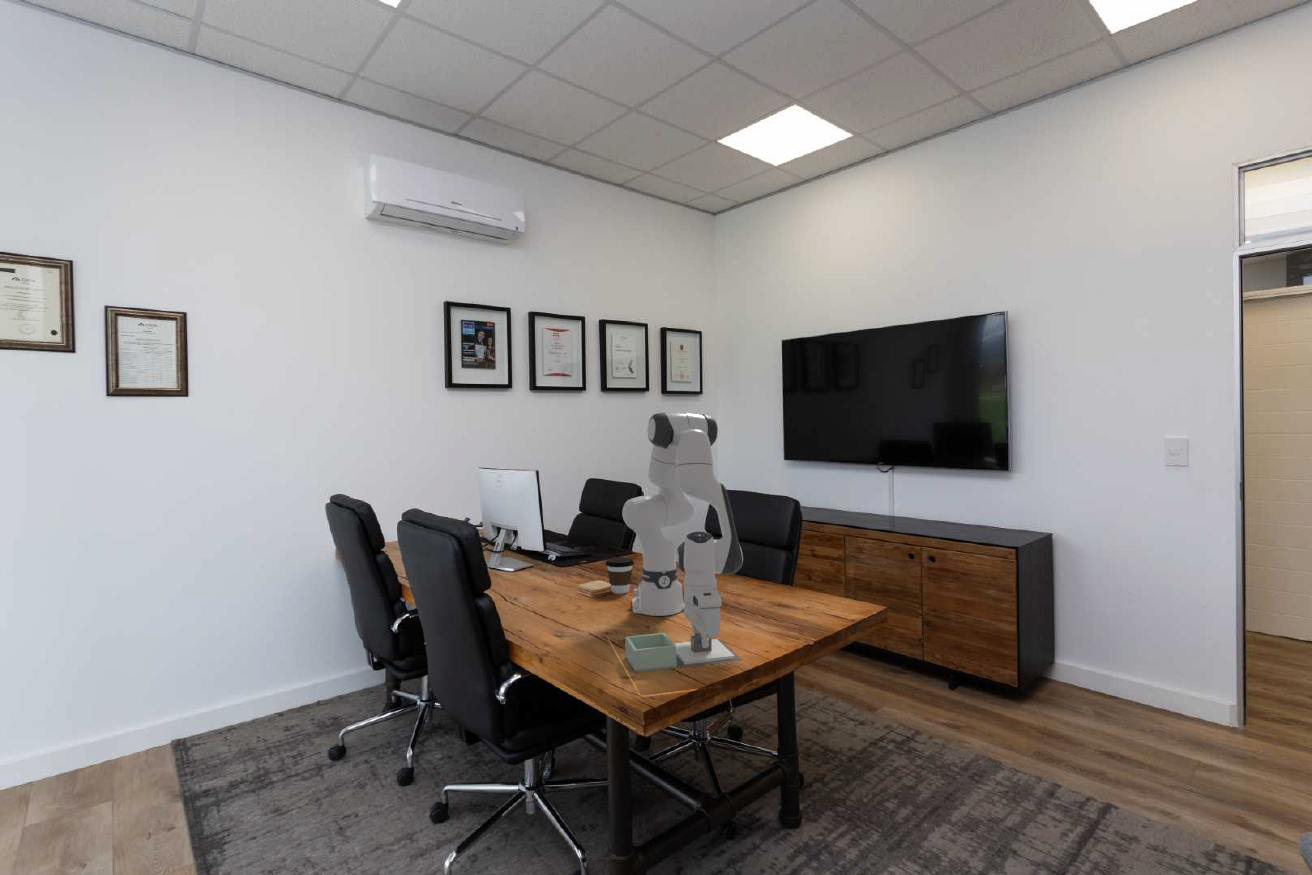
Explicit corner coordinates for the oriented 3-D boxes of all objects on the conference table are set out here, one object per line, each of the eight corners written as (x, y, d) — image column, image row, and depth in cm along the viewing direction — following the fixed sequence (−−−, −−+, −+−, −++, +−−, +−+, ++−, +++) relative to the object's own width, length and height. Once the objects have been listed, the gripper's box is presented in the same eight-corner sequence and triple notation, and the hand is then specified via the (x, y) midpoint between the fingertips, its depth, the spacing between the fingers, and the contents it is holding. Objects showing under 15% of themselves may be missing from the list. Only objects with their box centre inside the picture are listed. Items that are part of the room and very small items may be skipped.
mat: (662, 646, 183) (662, 645, 183) (719, 640, 187) (719, 639, 187) (680, 668, 167) (680, 667, 167) (742, 661, 171) (742, 660, 171)
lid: (669, 646, 182) (669, 631, 182) (716, 641, 186) (716, 626, 185) (684, 664, 168) (683, 648, 168) (734, 658, 172) (734, 642, 172)
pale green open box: (625, 658, 174) (625, 636, 174) (665, 654, 177) (664, 632, 177) (634, 674, 164) (634, 650, 163) (676, 669, 166) (676, 646, 166)
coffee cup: (604, 588, 248) (603, 557, 248) (632, 587, 250) (632, 556, 250) (607, 596, 237) (606, 563, 237) (637, 594, 239) (636, 562, 239)
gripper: (678, 584, 186) (679, 632, 186) (701, 603, 166) (701, 657, 166) (699, 582, 187) (699, 630, 188) (724, 601, 168) (725, 654, 168)
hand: (701, 643), depth 177 cm, fingers open, 5 cm apart
